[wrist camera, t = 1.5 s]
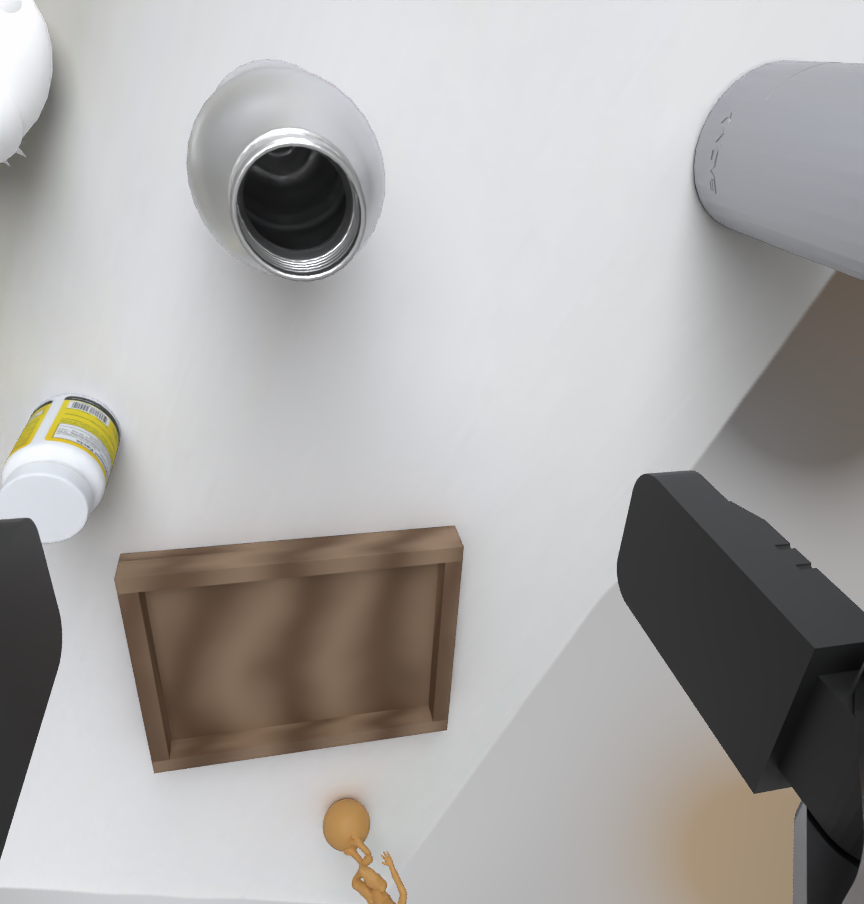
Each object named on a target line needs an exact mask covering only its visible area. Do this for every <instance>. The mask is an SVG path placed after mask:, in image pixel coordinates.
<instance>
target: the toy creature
mask: <svg viewBox="0 0 864 904" xmlns="http://www.w3.org/2000/svg"><path fill="white" fill-rule="evenodd" d="M52 73H53V60H52V44H51V40H50V36H49V33H48V29H47V25H46V22H45V20H44V18H43V16H42V15H41V13H40V11H39V10H38V8H37V6H36V5H35V3H34V1H33V0H0V163H5V164H6V165H8V166H9V167H11V166H10V165H9V163H8V162H7V159H8V158H9V157H11V156H12V155H13V154H15V153H18V154H20V155H22V156H25V157H26V155H25V154H24V153H23V152H22V151H21V150H20V149H19V145H20V144H21V141H22V137H24V136H25V134H26V133H27V132H28V131H29V129H30V128H31V127H32V126H33V124H34V123H35V122H36V121H37V120H38V118H39V116H40V114H41V111H42V109H43V107H44V105H45V102H46V100H47V98H48V94H49V89H50V84H51V79H52Z"/></svg>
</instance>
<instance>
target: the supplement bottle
mask: <svg viewBox="0 0 864 904" xmlns="http://www.w3.org/2000/svg"><path fill="white" fill-rule="evenodd" d="M119 441H120V428H119V424H118V422H117V420H116V418H115V416H114V415H113V414H112V412H111V411H110V410H109V409H108V408H107V407H106V406H105V405H103V404H102V403H101V402H99V401H97V400H95V399H93V398H90V397H87V396H84V395H79V394H64V395H59V396H55V397H52V398H50V399H48V400H46V401H44V402H43V403H42V404H40V405H39V406H38V407H37V408H36V409H35V411H34V412H33V414H32V415H31V417H30V419H29V421H28V423H27V424H26V426H25V428H24V430H23V432H22V434H21V435H20V437H19V439H18V441H17V443H16V444H15V446H14V448H13V450H12V452H11V453H10V455H9V457H8V459H7V461H6V462H5V464H4V466H3V469H2V474H1V487H2V488H1V490H0V520H1V519H15V518H30V519H32V521H33V522H34V523H35V525H36V527H37V529H38V532H39V536H40V540H41V543H56V542H60V541H64V540H67V539H69V538H71V537H73V536H74V535H76V534H77V533H78V532H79V531H80V530H81V529H82V528H83V527H84V525H85V524H86V522H87V519H88V517H89V515H90V513H91V512H92V511H93V510H94V509H95V508H96V507H97V506H98V504H99V503H100V501H101V499H102V498H103V495H104V492H105V489H106V486H107V483H108V479H109V476H110V472H111V469H112V466H113V462H114V459H115V456H116V452H117V449H118V446H119Z"/></svg>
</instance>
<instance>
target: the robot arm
mask: <svg viewBox="0 0 864 904" xmlns="http://www.w3.org/2000/svg"><path fill="white" fill-rule="evenodd" d="M694 173H695V185H696V188H697V192H698V196H699V199H700V201H701V202H702V204H703V206H704V208H705V210H706V211H707V212H708V213H709V214H710V215H711V216H712V217H713V218H714V220H715V221H717V222H719V223H720V224H722V225H724V226H726V227H727V228H730V229H732V230H735V231H738V232H740V233H743V234H745V235H748V236H750V237H753V238H756V239H758V240H761V241H763V242H765V243H768V244H770V245H773V246H775V247H778V248H781V249H783V250H786V251H788V252H791V253H793V254H796V255H799V256H801V257H804V258H806V259H809V260H812V261H814V262H817V263H819V264H822V265H824V266H827V267H830V268H832V269H835V270H837V271H840V272H843V273H845V274H848V275H850V276H853V277H855V278H858V279H861V280H863V281H864V64H858V63H839V62H808V61H779V62H774V63H768V64H765V65H763V66H761V67H759V68H756V69H754V70H752V71H750V72H749V73H747V74H746V75H745V76H743V77H742V78H740V79H739V80H737V81H736V82H735V83H734V84H733V85H732V86H731V87H730V88H729V89H728V90H727V91H726V92H725V93H724V94H723V95H722V96H721V98H720V99H719V101H718V102H717V104H716V105H715V106H714V108H713V109H712V111H711V112H710V114H709V116H708V118H707V120H706V122H705V124H704V126H703V128H702V131H701V134H700V138H699V141H698V144H697V148H696V155H695V163H694ZM617 577H618V584H619V587H620V591H621V594H622V596H623V598H624V601H625V602H626V604H627V606H628V607H629V609H630V610H631V612H632V613H633V614H634V616H635V618H636V619H637V620H638V622H639V623H640V625H641V626H642V628H643V629H644V631H645V632H646V634H647V635H648V637H649V638H650V640H651V641H652V643H653V644H654V646H655V647H656V649H657V650H658V652H659V653H660V655H661V656H662V658H663V659H664V661H665V662H666V664H667V665H668V667H669V668H670V670H671V671H672V672H673V674H674V675H675V677H676V679H677V680H678V682H679V683H680V685H681V686H682V687H683V689H684V690H685V692H686V693H687V695H688V696H689V698H690V699H691V701H692V702H693V704H694V705H695V707H696V708H697V710H698V711H699V713H700V714H701V716H702V717H703V718H704V720H705V722H706V723H707V725H708V726H709V728H710V729H711V731H712V732H713V734H714V735H715V737H716V738H717V739H718V741H719V743H720V744H721V746H722V747H723V749H724V750H725V751H726V753H727V754H728V756H729V757H730V759H731V760H732V762H733V763H734V765H735V766H736V768H737V769H738V771H739V772H740V774H741V775H742V777H743V778H744V779H745V781H746V783H747V784H748V786H749V787H750V789H751V790H752V792H753V793H754V794H755V793H761V792H766V791H772V790H777V789H783V788H788V787H793V789H794V790H795V792H796V793H797V794H798V796H799V797H800V798H801V802H800V805H799V807H798V809H797V811H796V814H795V818H794V855H793V856H794V857H793V904H864V612H863V611H862V610H861V609H860V608H859V607H858V606H857V605H856V604H855V603H854V602H852V600H850V599H849V598H848V597H847V596H846V595H845V594H844V593H843V592H842V591H841V590H840V589H839V588H838V587H836V586H835V585H834V584H833V583H832V582H831V581H830V580H829V579H828V578H827V577H826V576H825V575H824V574H822V573H821V572H820V571H819V570H818V569H817V568H813V569H812V567H811V562H809V561H808V560H807V559H806V558H805V557H804V556H803V555H802V554H801V553H800V552H799V551H797V550H796V549H795V548H793V549H791V548H790V543H789V542H788V541H787V540H786V539H785V538H784V537H782V536H781V535H780V534H779V533H778V532H777V531H776V530H775V529H774V528H773V527H772V526H771V525H770V524H768V523H767V522H766V521H765V520H764V519H762V518H760V517H758V516H756V515H755V514H753V513H751V512H749V511H747V510H745V509H744V508H742V507H740V506H738V505H737V504H735V503H733V502H731V501H728V500H727V499H726V498H724V496H723V495H721V494H720V493H719V492H718V491H717V490H716V489H715V488H714V487H713V486H712V485H711V484H710V483H709V482H708V481H707V480H706V479H705V478H704V477H703V476H702V475H700V474H699V473H697V472H695V471H677V472H663V473H650V474H643V475H641V476H640V477H639V478H638V479H637V481H636V483H635V485H634V488H633V492H632V497H631V501H630V506H629V510H628V515H627V519H626V524H625V528H624V533H623V537H622V542H621V546H620V551H619V555H618V561H617ZM61 650H62V626H61V618H60V613H59V609H58V605H57V601H56V597H55V593H54V590H53V586H52V582H51V578H50V574H49V570H48V567H47V563H46V559H45V555H44V551H43V547H42V543H41V540H40V536H39V532H38V529H37V527H36V525H35V523H34V522H33V521H32V519H30V518H15V519H1V520H0V858H1V855H2V852H3V849H4V845H5V842H6V839H7V835H8V832H9V829H10V825H11V822H12V819H13V816H14V812H15V809H16V806H17V802H18V799H19V796H20V792H21V789H22V786H23V783H24V779H25V776H26V773H27V769H28V766H29V763H30V759H31V756H32V753H33V750H34V746H35V743H36V740H37V736H38V733H39V730H40V726H41V723H42V720H43V717H44V713H45V710H46V707H47V703H48V700H49V697H50V693H51V690H52V687H53V684H54V680H55V677H56V674H57V670H58V667H59V663H60V658H61Z"/></svg>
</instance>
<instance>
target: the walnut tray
mask: <svg viewBox="0 0 864 904" xmlns="http://www.w3.org/2000/svg"><path fill="white" fill-rule="evenodd" d="M463 549H464V546H463V544H462V542H461V539H460V537H459V535H458V532H457V530H456V528H455V526H445V527H433V528H421V529H410V530H398V531H386V532H374V533H363V534H351V535H339V536H327V537H316V538H304V539H292V540H280V541H269V542H257V543H245V544H233V545H222V546H210V547H198V548H186V549H175V550H163V551H151V552H139V553H128V554H120V558H119V562H118V566H117V570H116V574H115V578H114V580H115V585H116V590H117V594H118V599H119V604H120V609H121V614H122V619H123V624H124V629H125V633H126V638H127V643H128V648H129V653H130V658H131V663H132V668H133V672H134V677H135V682H136V687H137V692H138V697H139V702H140V707H141V711H142V716H143V721H144V726H145V731H146V736H147V741H148V746H149V750H150V755H151V760H152V765H153V770H154V773H159V772H166V771H173V770H180V769H186V768H193V767H200V766H207V765H214V764H220V763H227V762H234V761H241V760H247V759H254V758H261V757H268V756H274V755H281V754H288V753H295V752H302V751H308V750H315V749H322V748H329V747H335V746H342V745H349V744H356V743H362V742H369V741H376V740H383V739H390V738H396V737H403V736H410V735H417V734H423V733H430V732H437V731H444V730H447V724H448V713H449V702H450V691H451V680H452V669H453V658H454V647H455V636H456V625H457V615H458V604H459V593H460V582H461V571H462V560H463Z"/></svg>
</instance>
